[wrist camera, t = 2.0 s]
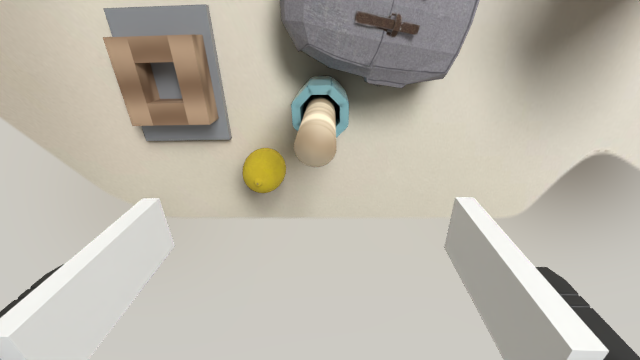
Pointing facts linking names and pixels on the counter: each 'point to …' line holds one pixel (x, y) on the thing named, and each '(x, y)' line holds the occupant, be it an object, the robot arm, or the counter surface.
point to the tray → (165, 76)
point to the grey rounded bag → (381, 36)
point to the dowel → (317, 132)
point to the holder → (141, 87)
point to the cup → (322, 87)
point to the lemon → (264, 170)
